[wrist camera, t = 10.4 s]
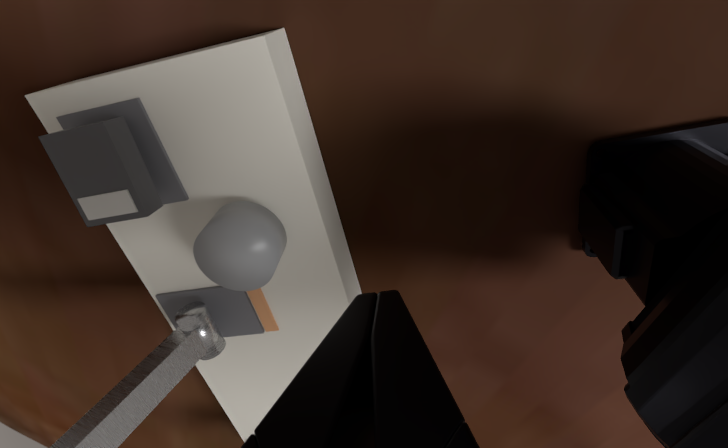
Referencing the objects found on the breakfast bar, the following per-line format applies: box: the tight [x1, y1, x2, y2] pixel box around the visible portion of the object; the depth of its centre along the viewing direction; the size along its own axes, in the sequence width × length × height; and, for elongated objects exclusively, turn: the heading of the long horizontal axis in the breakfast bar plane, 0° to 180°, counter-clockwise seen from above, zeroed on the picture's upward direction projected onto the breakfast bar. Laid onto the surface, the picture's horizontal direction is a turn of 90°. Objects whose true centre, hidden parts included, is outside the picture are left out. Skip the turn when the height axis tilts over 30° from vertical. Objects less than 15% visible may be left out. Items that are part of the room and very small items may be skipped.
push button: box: [193, 201, 287, 291], centre depth 18 cm, size 4×4×2 cm
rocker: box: [39, 116, 163, 227], centre depth 17 cm, size 3×4×1 cm
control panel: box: [24, 28, 362, 443], centre depth 25 cm, size 11×30×3 cm, turn 13°
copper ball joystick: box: [50, 301, 226, 448], centre depth 18 cm, size 3×3×12 cm
